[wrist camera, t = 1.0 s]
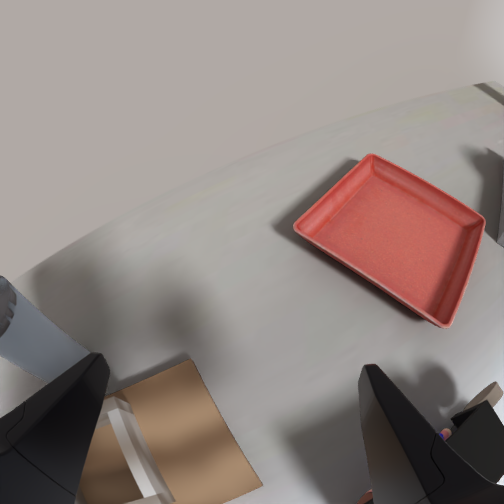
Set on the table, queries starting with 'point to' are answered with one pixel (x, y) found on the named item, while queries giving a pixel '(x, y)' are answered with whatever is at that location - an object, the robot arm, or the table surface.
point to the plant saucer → (398, 236)
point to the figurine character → (475, 437)
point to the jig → (164, 446)
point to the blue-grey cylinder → (34, 337)
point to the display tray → (501, 218)
